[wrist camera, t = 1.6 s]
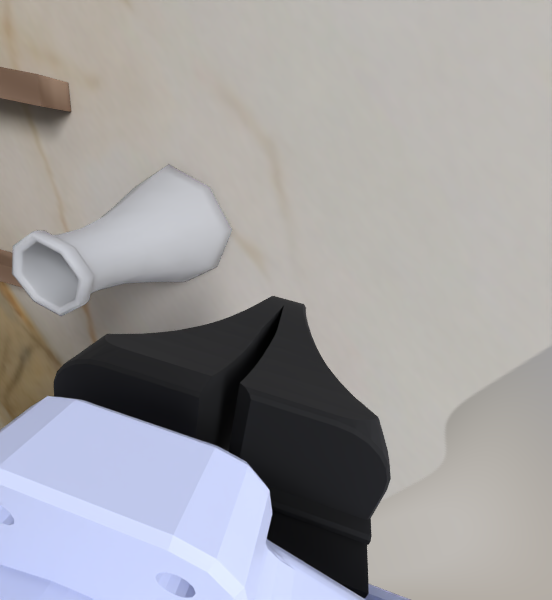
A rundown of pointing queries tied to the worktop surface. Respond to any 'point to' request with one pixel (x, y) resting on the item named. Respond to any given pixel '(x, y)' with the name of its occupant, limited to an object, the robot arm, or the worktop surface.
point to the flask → (127, 244)
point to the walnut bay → (35, 93)
